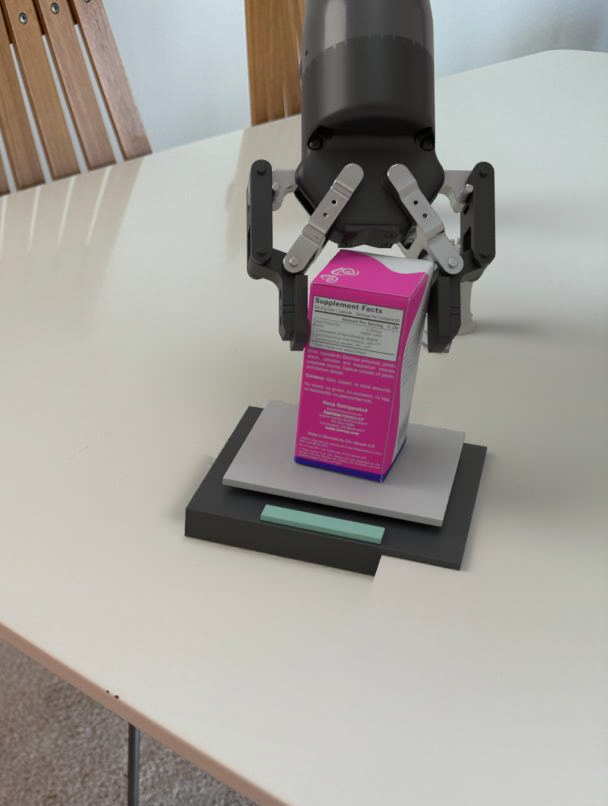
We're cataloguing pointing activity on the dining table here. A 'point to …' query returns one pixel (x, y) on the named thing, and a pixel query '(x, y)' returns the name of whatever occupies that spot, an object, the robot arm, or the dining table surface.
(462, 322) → the rook chess piece
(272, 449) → the kitchen scale
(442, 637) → the dining table surface
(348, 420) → the supplement box
